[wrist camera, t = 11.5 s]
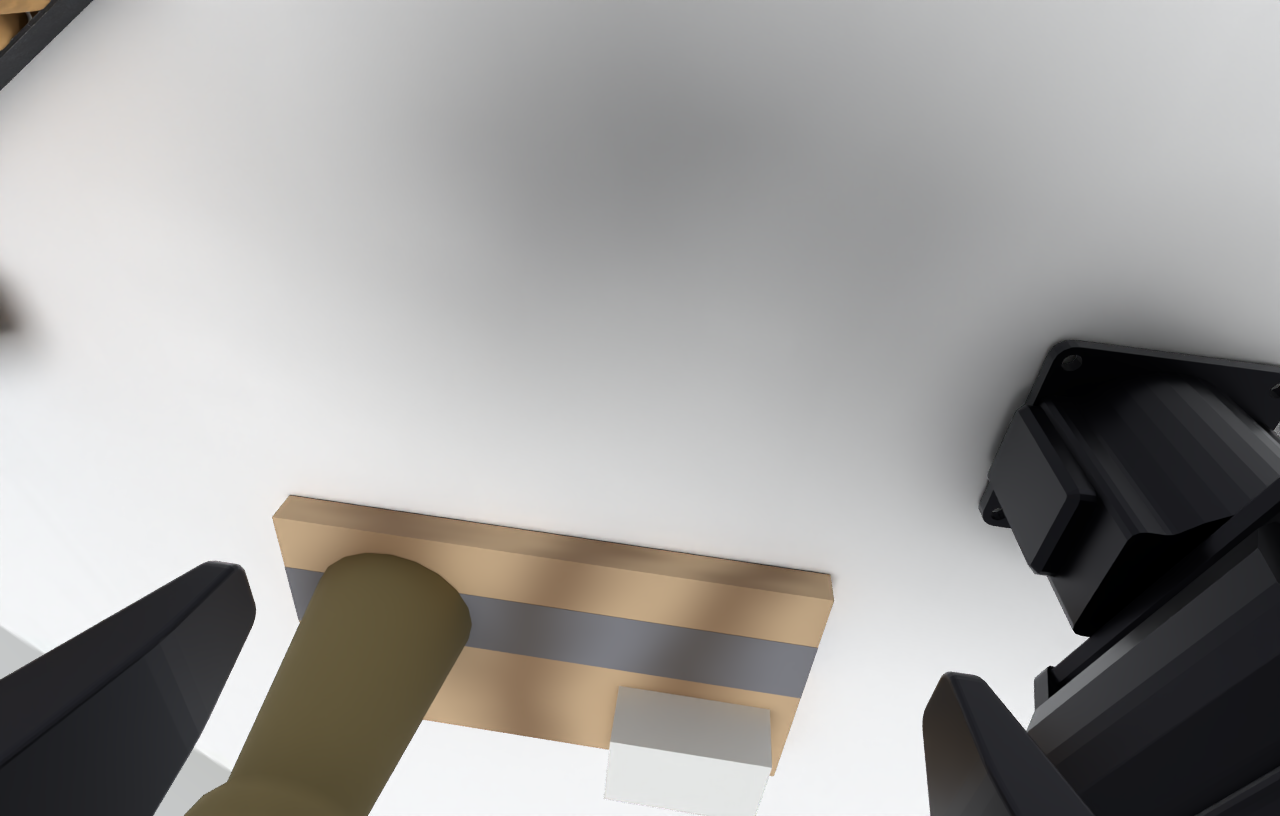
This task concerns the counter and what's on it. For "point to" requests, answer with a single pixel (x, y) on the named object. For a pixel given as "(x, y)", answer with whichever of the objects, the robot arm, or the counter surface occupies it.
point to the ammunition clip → (31, 30)
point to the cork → (347, 692)
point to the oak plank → (581, 619)
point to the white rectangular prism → (688, 754)
